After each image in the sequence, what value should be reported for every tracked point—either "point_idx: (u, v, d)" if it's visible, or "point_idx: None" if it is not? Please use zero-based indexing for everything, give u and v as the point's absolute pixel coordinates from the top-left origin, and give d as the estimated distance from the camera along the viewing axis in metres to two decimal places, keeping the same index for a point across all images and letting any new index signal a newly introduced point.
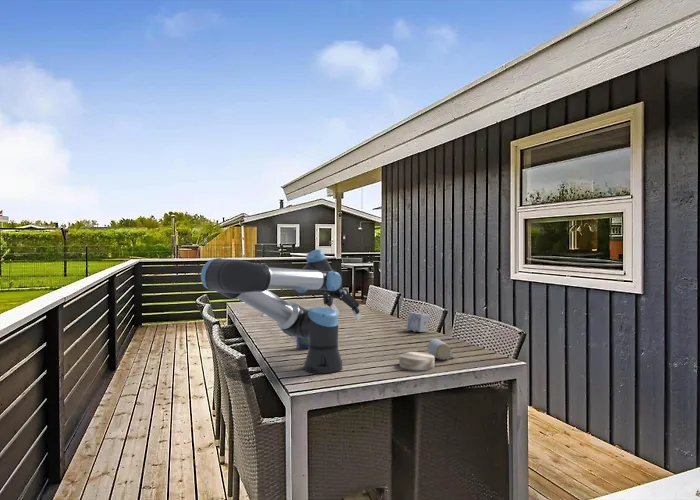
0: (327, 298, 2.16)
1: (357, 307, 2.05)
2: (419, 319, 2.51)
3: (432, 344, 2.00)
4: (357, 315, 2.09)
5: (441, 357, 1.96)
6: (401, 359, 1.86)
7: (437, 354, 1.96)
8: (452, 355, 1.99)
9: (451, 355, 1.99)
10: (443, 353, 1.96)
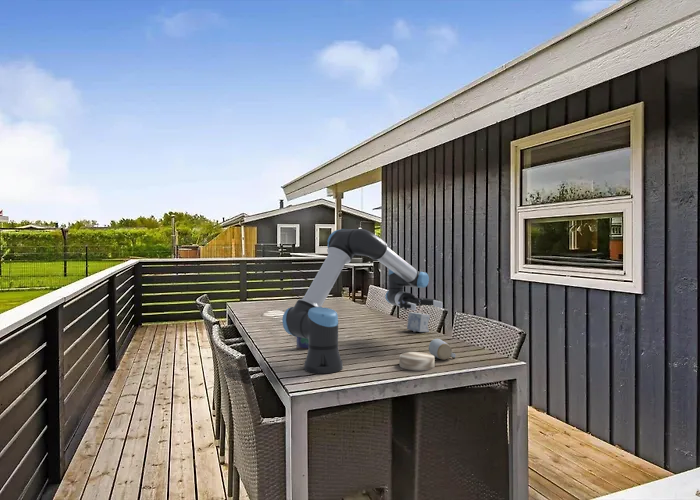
0: None
1: (438, 301, 2.20)
2: (419, 319, 2.51)
3: (433, 344, 2.00)
4: None
5: (442, 357, 1.96)
6: (401, 359, 1.86)
7: (438, 354, 1.96)
8: (453, 355, 1.99)
9: (452, 355, 1.99)
10: (444, 352, 1.97)
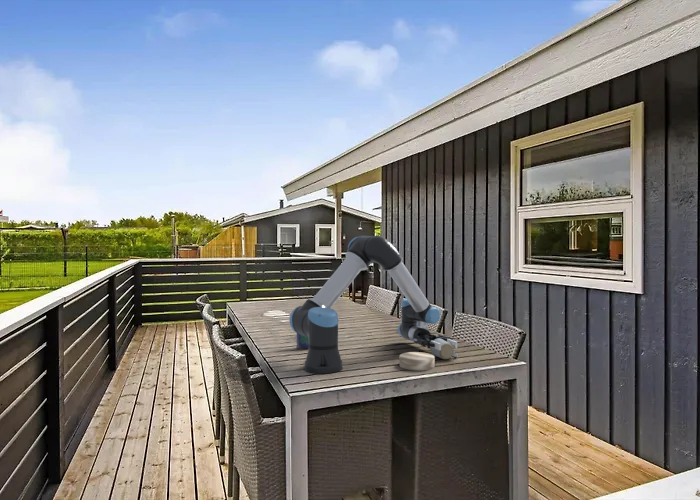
0: None
1: (452, 339, 2.06)
2: None
3: None
4: None
5: (445, 357, 1.96)
6: (401, 359, 1.86)
7: (441, 354, 1.96)
8: (455, 354, 1.99)
9: (454, 354, 1.99)
10: (446, 352, 1.96)
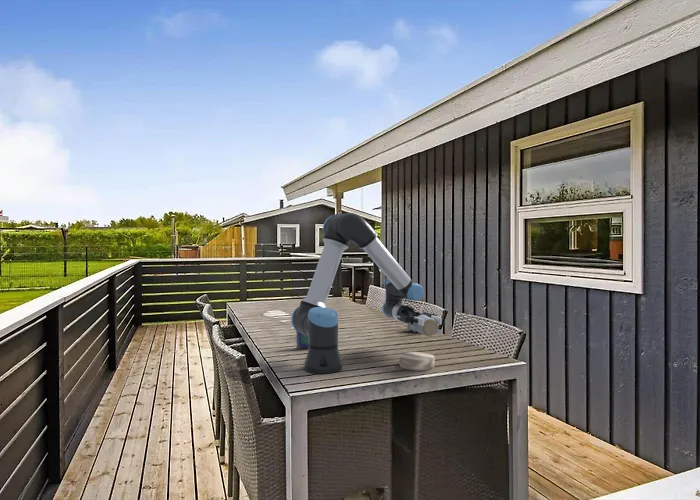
0: None
1: None
2: None
3: None
4: None
5: (428, 333, 1.88)
6: (401, 359, 1.86)
7: (424, 330, 1.87)
8: (440, 331, 1.91)
9: (438, 331, 1.90)
10: (430, 328, 1.88)
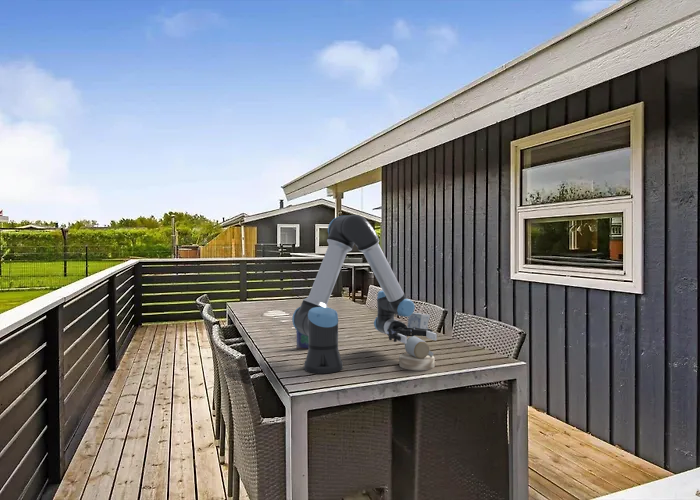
0: None
1: (432, 331, 1.97)
2: (419, 319, 2.51)
3: (410, 342, 1.88)
4: None
5: (419, 356, 1.84)
6: (401, 359, 1.86)
7: (415, 352, 1.84)
8: (431, 353, 1.88)
9: (430, 353, 1.87)
10: (421, 351, 1.85)
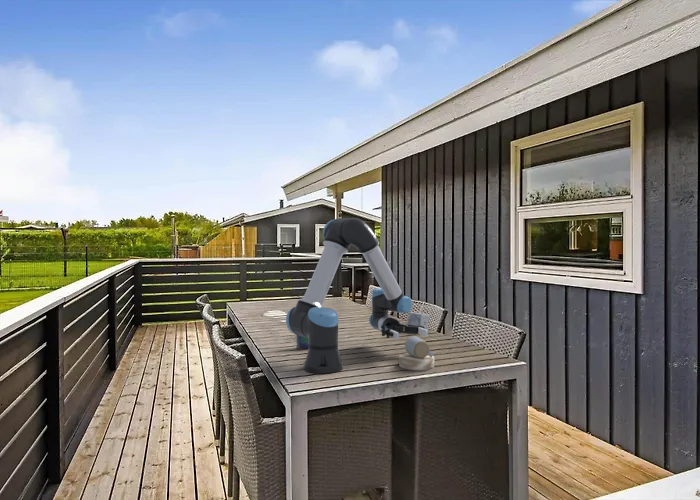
0: None
1: None
2: (419, 319, 2.51)
3: (410, 342, 1.88)
4: None
5: (419, 355, 1.85)
6: (401, 359, 1.86)
7: (415, 352, 1.84)
8: (431, 353, 1.88)
9: (430, 353, 1.87)
10: (421, 351, 1.85)
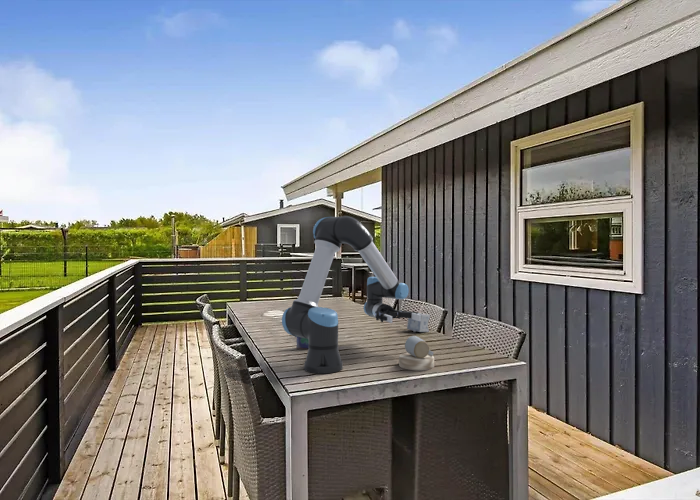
0: None
1: (417, 313, 2.09)
2: None
3: (410, 341, 1.88)
4: None
5: (419, 355, 1.85)
6: (401, 359, 1.86)
7: (415, 352, 1.84)
8: (431, 353, 1.88)
9: (430, 353, 1.87)
10: (421, 350, 1.85)
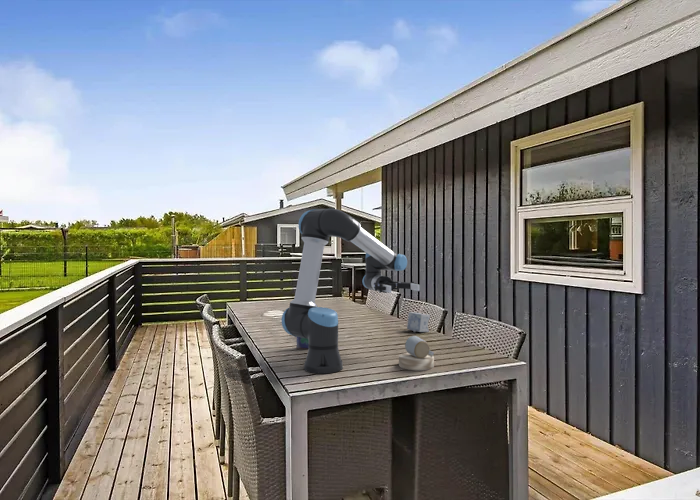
0: None
1: None
2: (419, 319, 2.51)
3: (410, 341, 1.88)
4: None
5: (420, 355, 1.85)
6: (400, 359, 1.86)
7: (415, 352, 1.84)
8: (431, 353, 1.88)
9: (430, 353, 1.88)
10: (422, 350, 1.85)
